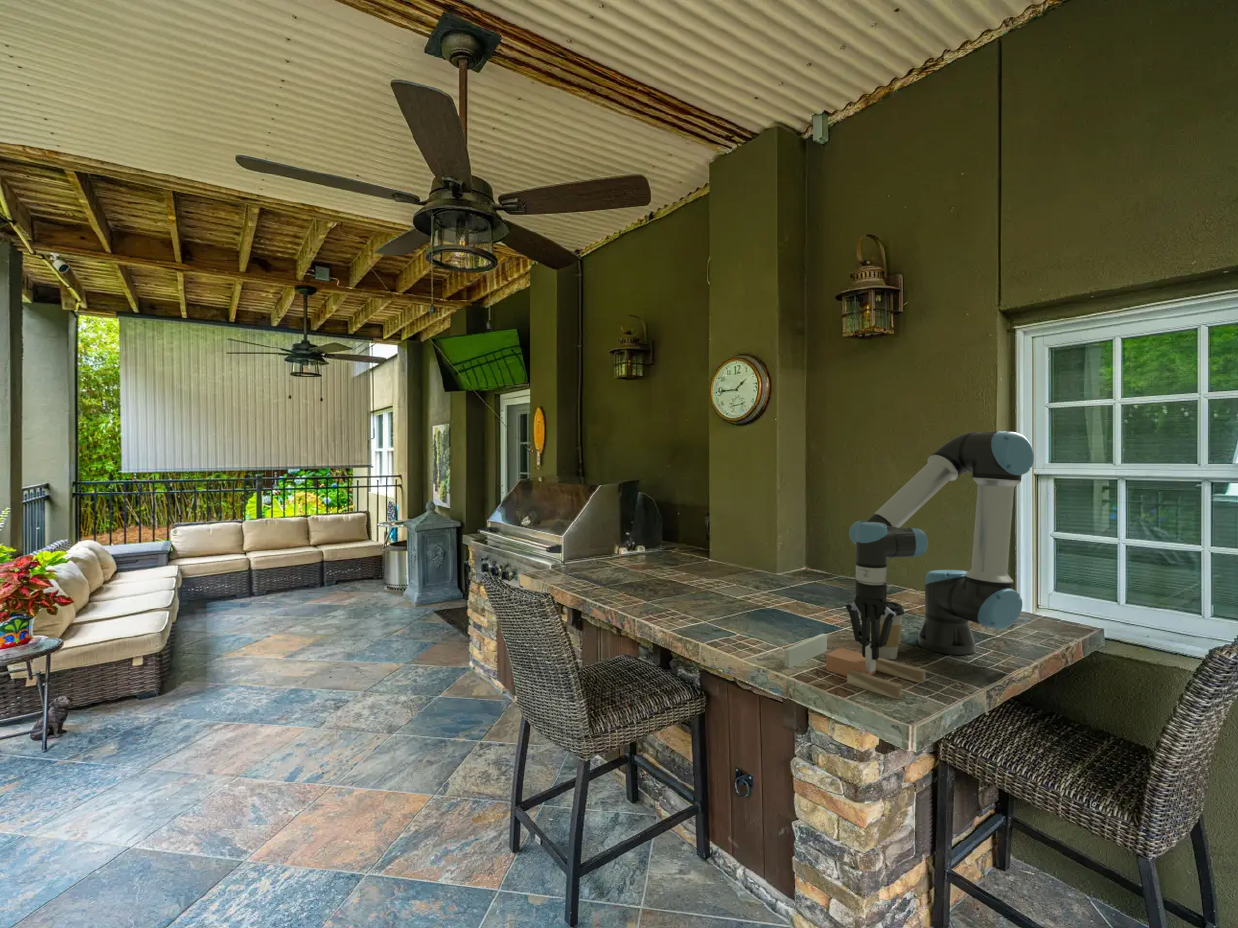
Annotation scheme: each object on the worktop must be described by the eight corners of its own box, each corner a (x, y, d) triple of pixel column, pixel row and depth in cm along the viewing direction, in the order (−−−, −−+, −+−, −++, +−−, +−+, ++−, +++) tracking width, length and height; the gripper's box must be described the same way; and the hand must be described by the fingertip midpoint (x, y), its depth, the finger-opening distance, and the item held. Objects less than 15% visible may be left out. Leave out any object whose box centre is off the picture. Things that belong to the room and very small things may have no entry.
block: (840, 663, 169) (840, 647, 169) (875, 673, 162) (875, 656, 162) (825, 670, 164) (826, 654, 164) (861, 681, 156) (861, 664, 156)
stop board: (822, 649, 179) (822, 633, 179) (826, 651, 178) (826, 634, 178) (784, 666, 166) (784, 649, 166) (789, 668, 165) (789, 650, 165)
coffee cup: (893, 649, 179) (893, 599, 179) (910, 661, 170) (911, 608, 169) (860, 649, 179) (861, 600, 179) (876, 662, 169) (876, 609, 169)
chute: (875, 667, 165) (876, 656, 165) (925, 681, 155) (925, 669, 155) (847, 683, 155) (847, 671, 154) (898, 699, 145) (898, 687, 145)
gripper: (840, 579, 160) (839, 667, 160) (889, 588, 150) (888, 681, 151) (854, 575, 165) (853, 660, 165) (902, 583, 155) (901, 673, 156)
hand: (870, 670), depth 158 cm, fingers closed
